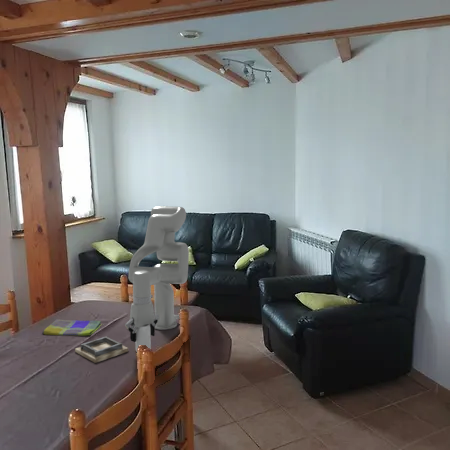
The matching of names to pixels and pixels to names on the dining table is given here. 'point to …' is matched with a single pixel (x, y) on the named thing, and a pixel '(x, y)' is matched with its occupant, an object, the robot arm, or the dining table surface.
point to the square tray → (101, 349)
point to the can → (143, 336)
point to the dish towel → (72, 328)
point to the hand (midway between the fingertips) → (142, 338)
